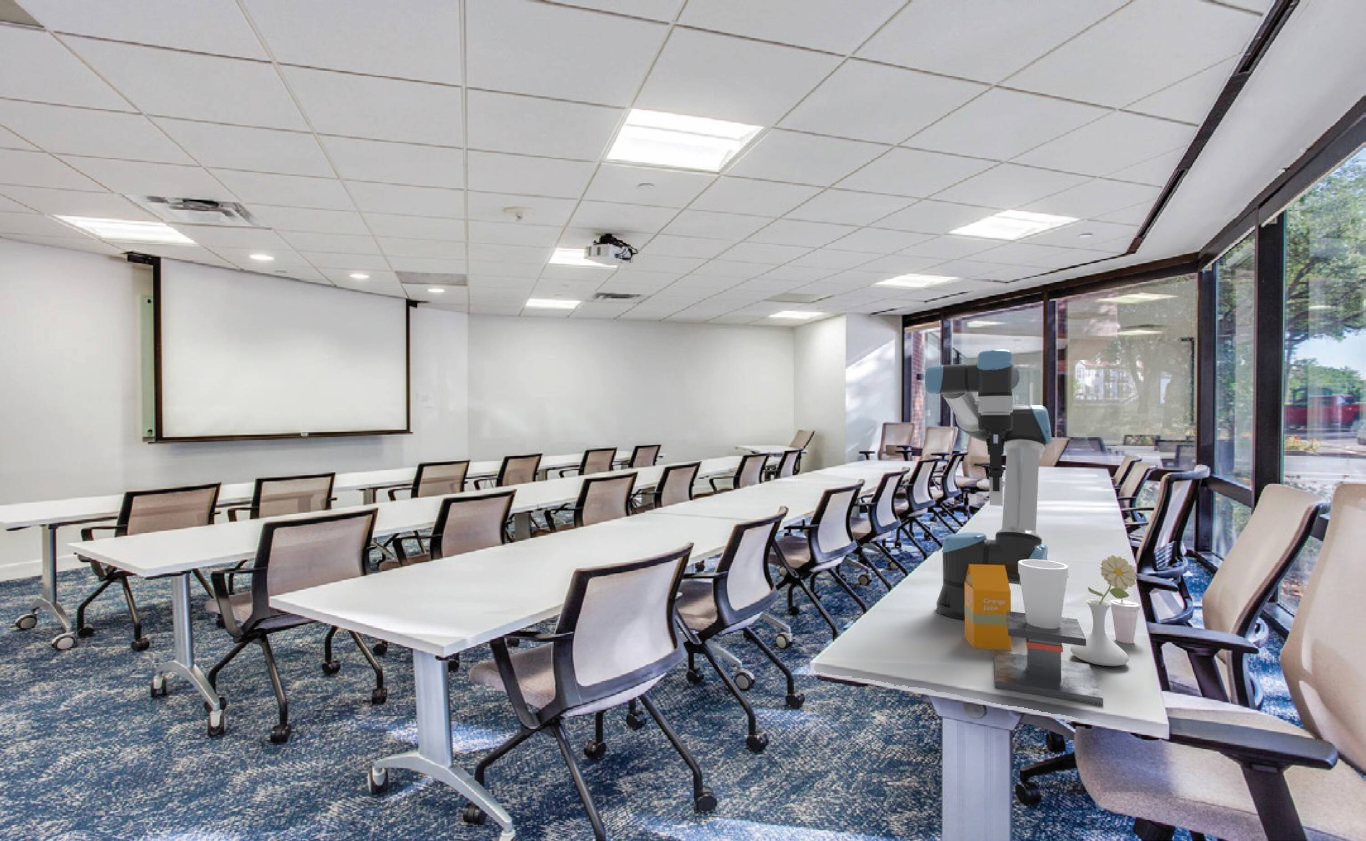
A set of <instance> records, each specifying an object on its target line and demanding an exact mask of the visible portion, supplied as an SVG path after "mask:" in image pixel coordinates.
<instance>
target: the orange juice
mask: <svg viewBox="0 0 1366 841" xmlns="http://www.w3.org/2000/svg"><path fill="white" fill-rule="evenodd" d="M1011 594H1012V592H1011V586H1010V583H1009V582H1008V577H1007V573H1006V568H1005V565H985V564H969V566H968V570H967V575H966V579H965V620H964V638H965V640H966V641H967V642H968V643H969V644H970V645H971V646H972V648H973V649H989V650H1007V651H1009V650H1012V636H1008V630H1007V620H1006V611H1011V612H1012V601H1011V600H1012V595H1011Z"/></svg>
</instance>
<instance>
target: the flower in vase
mask: <svg viewBox="0 0 1366 841" xmlns="http://www.w3.org/2000/svg"><path fill="white" fill-rule="evenodd" d="M1100 565H1101V567H1100V572H1101V573H1100V576H1101V577H1103V579H1104V580H1105V581H1106V582H1107V584H1108V589H1107V590H1106V592H1105V593H1104V594H1103V593H1102V592H1099V591H1096V590H1094V589H1092V588H1091V587H1089V586H1088V587H1087V590H1088V592H1089V593H1091V594H1093V595H1096V596H1099V597H1102V598H1101V599H1096V598H1095V599H1092V598H1091V599H1090V598H1089V599H1086V600H1085V602H1086V604H1087V605H1088V606H1089V608H1090V611H1091V616H1092V631H1091V633H1090V634H1088V635H1087V636H1085V638H1086V646H1080V645H1073V644H1071V647H1070V652H1071V654H1072V655H1073V656H1074V657H1076V658H1077V659H1080V660H1082V661H1084V662H1087V663H1088V664H1090V663H1091V664H1094V665H1099V666H1103V667H1106V666H1107V667H1118V666H1123V665H1126V664H1127V663H1128V662H1129V661H1130V658H1129V656H1128V653H1126V652H1125V651H1124V649H1122V648H1121V647H1120V646H1119V645H1118V644H1117V643H1115V642H1114V641H1113V640H1112V639H1111V638H1110V637H1109V636H1108V635H1107V633H1106V630H1105V627H1106V626H1105V624H1106V622H1105V620H1106V614H1107V611H1108V609H1109V608H1111V605H1112V604H1111V603H1110V601H1107V600H1106V601H1105V600H1104V599H1105V598H1106V596H1107V595H1108V594H1109V593H1110V595H1112V596H1113V597H1114V598H1115V599H1117V600H1121V598H1123V599H1125V598H1128V597H1130V595H1129V593H1128V592H1127V591H1126V590H1128V588H1133V586H1135V585H1136V584H1137V582H1136V580H1137V579H1138V576H1137V572H1136V570H1135V569H1134V567H1133V565H1132V564H1129V561H1128V560H1127V559H1126V558H1122V557H1121V556H1115V555H1111V556H1108V557H1107V559H1106V558H1104V559H1102V560H1101V563H1100ZM1111 587H1113V588H1111Z"/></svg>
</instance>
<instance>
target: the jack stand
mask: <svg viewBox="0 0 1366 841" xmlns="http://www.w3.org/2000/svg"><path fill="white" fill-rule="evenodd" d="M1006 620H1007V630H1008V636H1011V638H1013V637H1015V638H1020V639H1025V642H1026V643H1025V645H1026V654H1019V653H1012V652H1005V651H999V650H994V651H993V652H994V656H993V657H994V683H995V684H994V685H995V689H1000V690H1007V691H1012V692H1019V693H1024V694H1031V695H1037V696H1043V697H1049V698H1054V699H1060V700H1061V699H1062V700H1067V701H1074V702H1079V703H1085V704H1092V705H1096V706H1097V705H1098V706H1104V696H1103V694H1102V691H1101V690H1100V687H1099V685H1098V682H1097V680H1096V678H1095V675H1094V673H1093V671H1092V667H1091V666H1090V663H1082V662H1075V661H1068V660H1063V659H1062V653H1064V650H1063V649H1064V647H1063V644H1066V645H1080V646H1086V638H1085V637H1086V636H1085V634H1084V631H1083V629H1082V627H1081V624H1080V622H1079V621H1078V618H1072V617H1071V618H1070V617H1061V623H1060V627H1059V628H1055V629H1048V628H1040V627H1036V626H1033V625H1030V624H1028V623H1027V619H1026V615H1025V612H1018V611H1012V610H1011V611H1006Z"/></svg>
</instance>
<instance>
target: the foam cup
mask: <svg viewBox="0 0 1366 841" xmlns="http://www.w3.org/2000/svg"><path fill="white" fill-rule="evenodd" d="M1018 573H1019V575H1020V582H1021V587H1020V588H1021V593H1022V601H1023V607H1024V613H1025V615H1026V619H1027V623H1028V624H1030V625H1033V626H1036V627H1040V628H1048V629H1055V628H1059V627H1060V623H1061V617H1062V615H1063V609H1064V601H1065V594H1066V589H1067V588H1066V587H1067V582H1068V579H1069V565H1067V564H1065V563H1062V562H1058V561H1053V560H1048V559H1047V560H1035V559H1032V560H1020V561H1019V562H1018Z"/></svg>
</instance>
